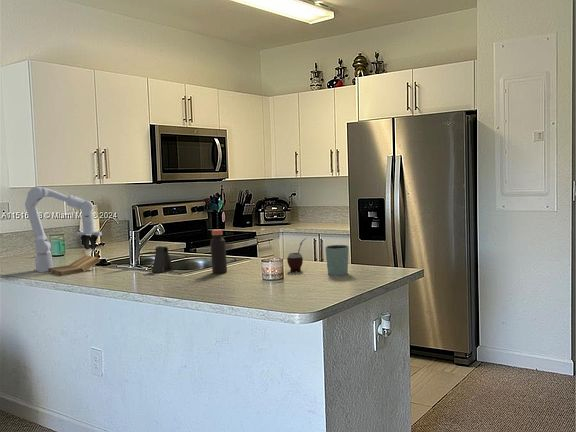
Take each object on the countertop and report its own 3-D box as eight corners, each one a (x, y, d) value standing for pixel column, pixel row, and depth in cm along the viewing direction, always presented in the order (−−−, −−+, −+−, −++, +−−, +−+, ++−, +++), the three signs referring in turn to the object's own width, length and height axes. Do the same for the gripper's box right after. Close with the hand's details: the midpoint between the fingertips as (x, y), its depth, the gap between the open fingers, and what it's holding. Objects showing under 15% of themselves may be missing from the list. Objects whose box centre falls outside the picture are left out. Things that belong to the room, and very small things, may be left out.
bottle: (224, 273, 262) (221, 230, 260) (210, 274, 263) (207, 231, 261) (228, 271, 268) (226, 228, 266) (215, 271, 269) (212, 229, 268)
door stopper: (159, 273, 273) (157, 248, 272) (151, 272, 277) (150, 247, 276) (174, 269, 279) (172, 245, 278) (166, 269, 283) (165, 245, 282)
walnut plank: (48, 272, 293) (48, 268, 292) (67, 269, 299) (67, 265, 299) (61, 275, 279) (61, 271, 279) (81, 272, 286) (81, 268, 286)
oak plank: (69, 268, 300) (68, 265, 299) (85, 257, 306) (84, 254, 305) (84, 271, 287) (82, 268, 286) (100, 260, 293) (98, 257, 292)
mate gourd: (284, 271, 259) (282, 239, 257) (296, 268, 264) (294, 236, 263) (296, 273, 254) (295, 239, 252) (308, 270, 259) (306, 237, 258)
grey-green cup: (336, 270, 254) (335, 244, 253) (354, 272, 247) (353, 245, 246) (321, 274, 247) (320, 247, 246) (339, 277, 240) (338, 248, 239)
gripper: (71, 224, 300) (74, 250, 301) (95, 224, 295) (97, 250, 296) (80, 223, 306) (82, 248, 308) (103, 222, 302) (105, 248, 303)
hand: (90, 249), depth 302 cm, fingers open, 3 cm apart
